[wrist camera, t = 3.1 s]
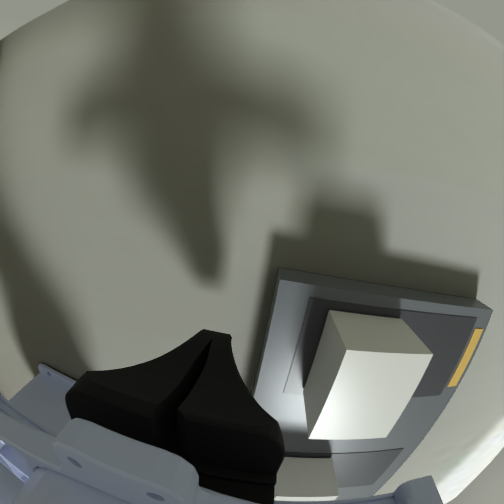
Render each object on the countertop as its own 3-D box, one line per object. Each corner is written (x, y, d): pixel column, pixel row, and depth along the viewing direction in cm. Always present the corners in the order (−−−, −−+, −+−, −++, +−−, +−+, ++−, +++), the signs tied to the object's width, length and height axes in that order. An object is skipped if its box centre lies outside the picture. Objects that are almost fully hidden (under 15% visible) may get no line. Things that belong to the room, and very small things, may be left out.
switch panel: (222, 509, 21) (219, 522, 19) (278, 267, 14) (279, 279, 12) (336, 513, 20) (338, 525, 18) (476, 299, 14) (493, 310, 12)
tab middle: (263, 485, 16) (260, 519, 12) (277, 456, 15) (276, 496, 11) (311, 488, 16) (313, 520, 12) (332, 458, 15) (338, 495, 11)
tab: (302, 391, 13) (308, 438, 10) (328, 309, 12) (346, 349, 9) (369, 395, 13) (385, 437, 10) (401, 318, 12) (433, 354, 9)
